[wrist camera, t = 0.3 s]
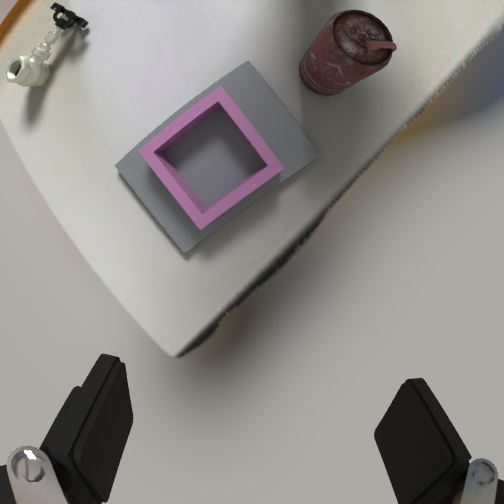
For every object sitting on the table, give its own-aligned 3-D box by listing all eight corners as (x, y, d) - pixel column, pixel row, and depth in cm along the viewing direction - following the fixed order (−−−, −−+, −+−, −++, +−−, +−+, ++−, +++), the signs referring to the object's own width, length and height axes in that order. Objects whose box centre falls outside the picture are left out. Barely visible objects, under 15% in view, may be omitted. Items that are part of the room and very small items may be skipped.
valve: (45, 97, 31) (95, 27, 28) (17, 93, 25) (73, 11, 22) (23, 78, 29) (70, 12, 27) (-4, 73, 23) (47, -2, 20)
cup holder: (248, 63, 31) (248, 50, 26) (317, 155, 35) (329, 156, 30) (119, 164, 35) (100, 168, 29) (186, 249, 38) (177, 265, 33)
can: (351, 96, 32) (405, 73, 19) (301, 96, 33) (334, 67, 19) (345, 52, 30) (392, 11, 17) (295, 51, 31) (322, 3, 17)
